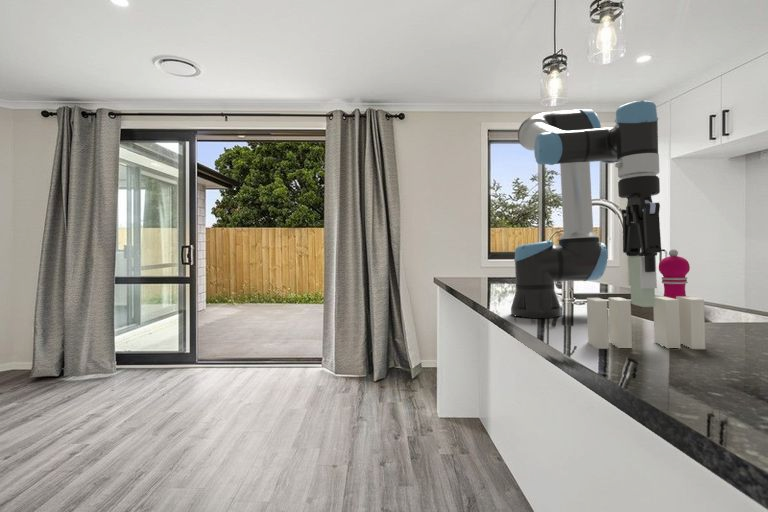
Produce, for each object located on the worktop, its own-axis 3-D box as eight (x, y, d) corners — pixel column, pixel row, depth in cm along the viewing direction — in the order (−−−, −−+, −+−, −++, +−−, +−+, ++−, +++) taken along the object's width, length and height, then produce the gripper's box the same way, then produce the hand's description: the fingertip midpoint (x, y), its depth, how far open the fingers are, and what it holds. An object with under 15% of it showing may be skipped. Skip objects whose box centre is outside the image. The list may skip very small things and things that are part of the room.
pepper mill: (701, 338, 95) (698, 248, 95) (665, 338, 97) (662, 250, 97) (685, 332, 102) (683, 248, 102) (652, 332, 104) (649, 249, 104)
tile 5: (677, 342, 92) (676, 296, 92) (689, 342, 92) (688, 296, 92) (692, 349, 86) (690, 299, 86) (705, 349, 86) (703, 299, 86)
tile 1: (588, 342, 96) (586, 297, 96) (599, 342, 95) (598, 297, 95) (596, 348, 90) (594, 301, 90) (608, 348, 89) (606, 300, 89)
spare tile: (631, 303, 94) (629, 257, 94) (643, 303, 93) (641, 257, 93) (642, 306, 88) (640, 258, 88) (655, 306, 87) (653, 257, 87)
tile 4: (654, 342, 93) (653, 296, 93) (666, 342, 93) (665, 296, 93) (667, 349, 87) (665, 300, 87) (680, 349, 87) (678, 299, 87)
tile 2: (609, 342, 95) (608, 297, 95) (621, 342, 94) (620, 297, 94) (619, 348, 89) (617, 300, 89) (632, 348, 88) (630, 300, 88)
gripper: (604, 185, 101) (608, 284, 101) (636, 170, 82) (640, 291, 82) (639, 183, 99) (643, 283, 99) (680, 167, 81) (684, 290, 81)
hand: (642, 286), depth 91 cm, fingers closed on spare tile, 6 cm apart
